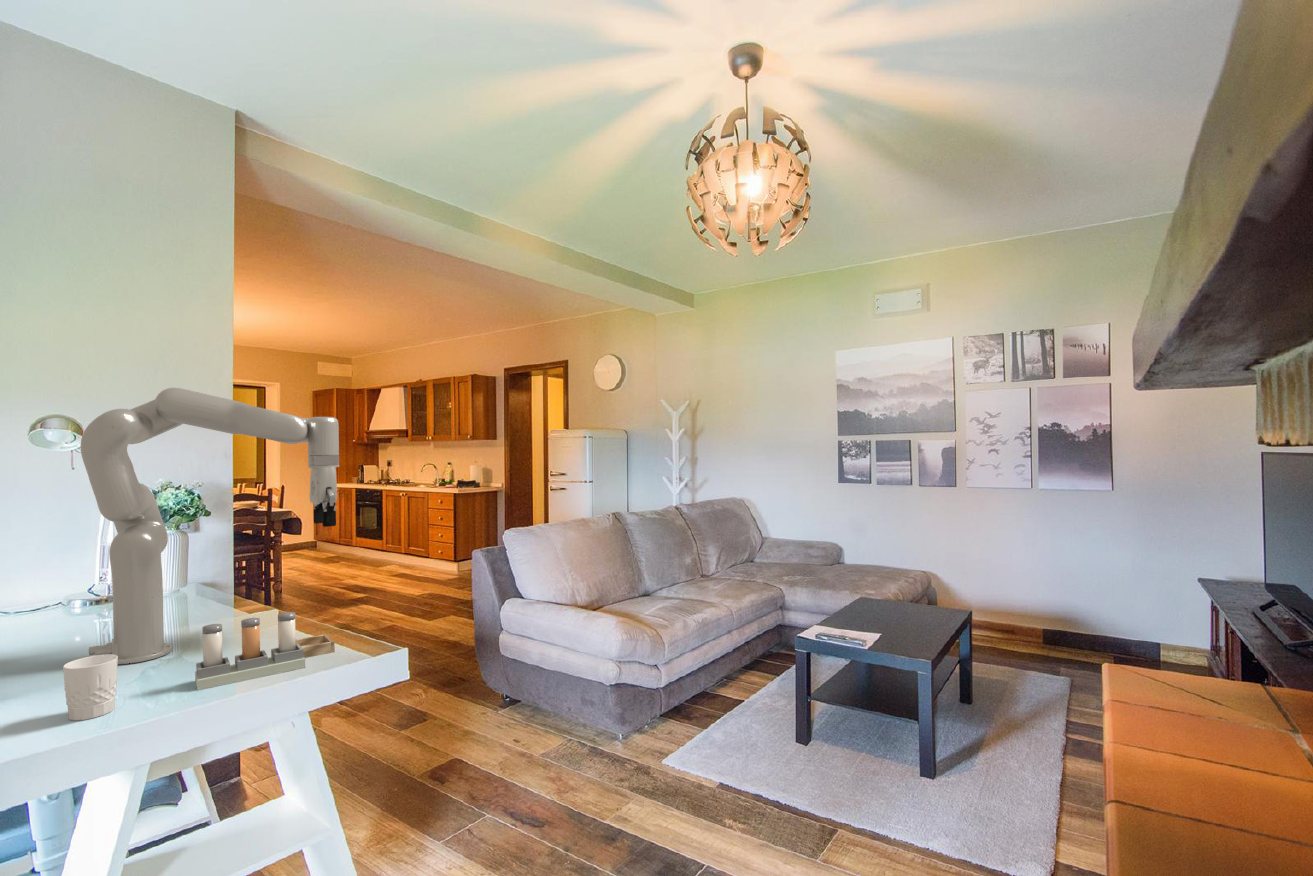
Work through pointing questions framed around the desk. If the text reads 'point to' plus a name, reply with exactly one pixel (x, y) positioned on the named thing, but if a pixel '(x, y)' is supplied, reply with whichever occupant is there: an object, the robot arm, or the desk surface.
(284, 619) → the cylinder
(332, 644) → the tray
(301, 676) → the desk surface
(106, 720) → the desk surface
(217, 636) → the cylinder
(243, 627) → the cylinder
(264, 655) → the fuse holder
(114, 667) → the white cup
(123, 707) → the desk surface
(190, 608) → the desk surface
